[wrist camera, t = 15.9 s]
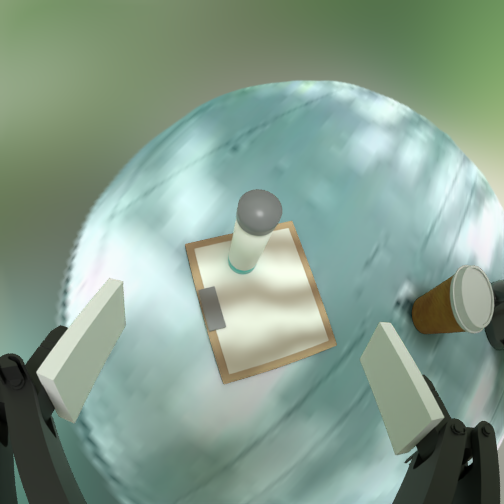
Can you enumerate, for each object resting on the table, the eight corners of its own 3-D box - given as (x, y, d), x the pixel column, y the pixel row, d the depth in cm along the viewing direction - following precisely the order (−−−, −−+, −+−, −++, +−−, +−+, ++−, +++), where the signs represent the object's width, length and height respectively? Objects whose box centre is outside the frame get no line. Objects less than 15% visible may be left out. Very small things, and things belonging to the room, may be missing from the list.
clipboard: (334, 345, 34) (340, 344, 32) (223, 383, 30) (224, 385, 29) (290, 223, 40) (294, 217, 38) (185, 246, 36) (184, 240, 34)
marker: (261, 271, 35) (288, 223, 23) (231, 278, 34) (245, 232, 22) (252, 243, 36) (273, 186, 25) (223, 250, 36) (232, 193, 24)
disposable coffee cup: (425, 356, 35) (482, 346, 24) (394, 313, 37) (450, 292, 26) (449, 316, 38) (501, 298, 27) (422, 275, 40) (472, 248, 29)
